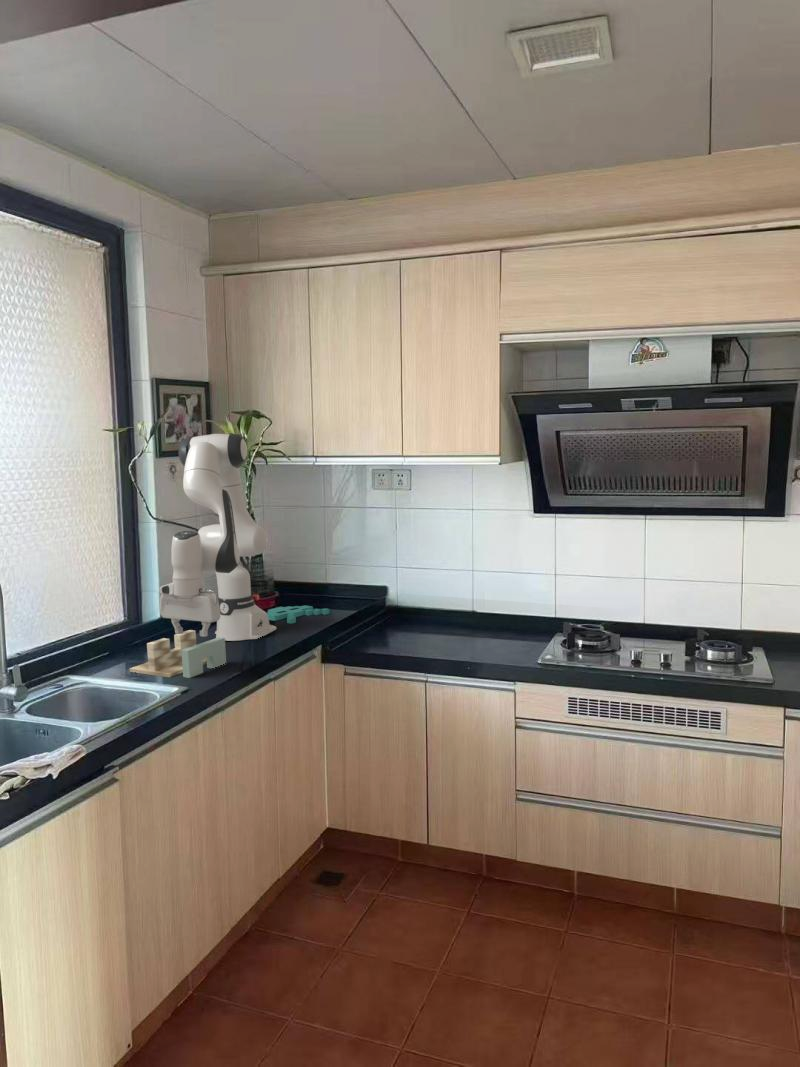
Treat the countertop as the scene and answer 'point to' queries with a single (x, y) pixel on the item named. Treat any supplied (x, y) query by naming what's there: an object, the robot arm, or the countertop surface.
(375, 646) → the countertop surface
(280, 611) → the alien figure
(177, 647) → the slotted stand
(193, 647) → the crossbar
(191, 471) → the robot arm
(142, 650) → the countertop surface
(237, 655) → the countertop surface
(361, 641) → the countertop surface
